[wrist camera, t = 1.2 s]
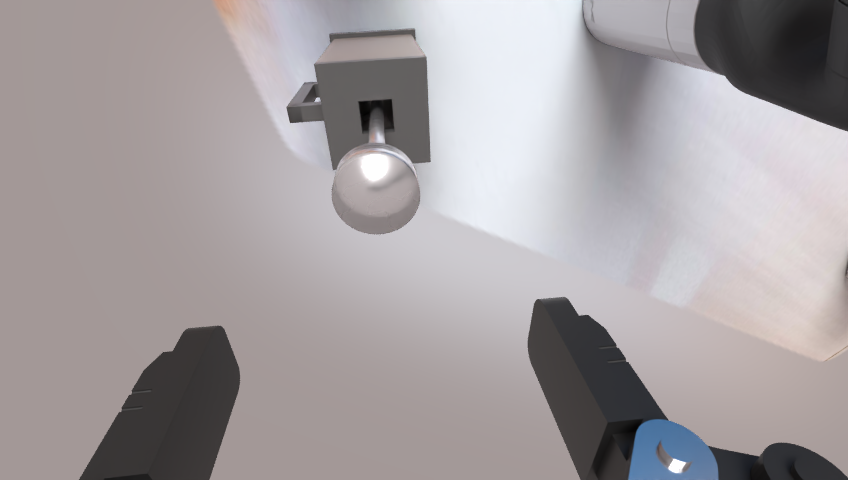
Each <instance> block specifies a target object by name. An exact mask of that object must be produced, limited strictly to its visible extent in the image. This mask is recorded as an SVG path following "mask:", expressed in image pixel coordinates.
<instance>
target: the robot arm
mask: <svg viewBox="0 0 848 480" xmlns="http://www.w3.org/2000/svg"><path fill="white" fill-rule="evenodd" d="M583 12H584V19H585V22H586V25H587V28H588V29H589V31H590V32H591V34H592V35H593V36H594V37H595V38H596V39H597V40H598V41H600V42H602V43H605V44H607V45H611V46H615V47H618V48H622V49H625V50H629V51H633V52H637V53H640V54H644V55H648V56H652V57H655V58H659V59H663V60H667V61H671V62H674V63H678V64H682V65H686V66H689V67H693V68H697V69H702V70H705V71H709V72H713V73H717V74H720V75H724V76H726V78H727V79H728V81H729V82H730V83H731V84H732V85H733V86H734V87H736V88H737V89H738V90H740V91H742V92H744V93H746V94H749V95H751V96H754V97H757V98H759V99H762V100H765V101H767V102H770V103H773V104H775V105H778V106H781V107H783V108H786V109H788V110H791V111H793V112H796V113H798V114H801V115H804V116H806V117H809V118H811V119H814V120H816V121H819V122H822V123H825V124H827V125H830V126H833V127H836V128H839V129H842V130H845V131H848V0H584V1H583ZM528 352H529V358H530V361H531V364H532V367H533V369H534V371H535V374H536V376H537V378H538V381H539V383H540V385H541V388H542V390H543V392H544V395H545V397H546V399H547V402H548V404H549V406H550V409H551V411H552V413H553V416H554V418H555V420H556V423H557V425H558V428H559V430H560V432H561V435H562V437H563V439H564V442H565V444H566V446H567V448H568V451H569V453H570V456H571V458H572V460H573V463H574V465H575V467H576V470H577V472H578V475H579V477H580V479H581V480H848V478H847V476H845V475H844V474H843V473H842V472H841V471H840V470H839V469H838V468H837V467H836V466H834V465H833V464H832V463H831V462H829V461H828V460H826V459H825V458H823V457H822V456H820V455H818V454H817V453H815V452H813V451H811V450H809V449H806V448H804V447H801V446H798V445H795V444H790V443H775V444H772V445H769V446H768V447H767V448H766V449H765V450H764V451H763V453H762V454H761V455H760V457H759V456H754V455H749V454H744V453H738V452H733V451H728V450H723V449H718V448H714V447H710V446H707V445H706V444H705V443H704V442H703V441H702V439H700V438H699V437H698V436H697V435H696V434H694V433H693V432H692V431H690V430H689V429H687V428H685V427H684V426H682V425H679V424H677V423H675V422H672V421H669V420H668V419H667V417H666V416H665V415H664V414H663V412H662V411H661V409H660V408H659V406H658V405H657V403H656V402H655V400H654V399H653V397H652V396H651V394H650V393H649V392H648V390H647V389H646V388H645V386H644V384H643V383H642V381H641V380H640V379H639V377H638V376H637V374H636V373H635V371H634V370H633V368H632V367H631V365H630V364H629V362H626V358H625V357H624V355H623V354H622V352H621V351H620V349H619V348H617V347H616V343H615V342H614V341H613V339H612V338H611V336H610V335H609V334H608V332H607V330H606V329H605V328H604V327H603V326H601V325H600V324H599V323H598V322H596V321H595V320H594V319H592V318H591V317H590V316H589V315H583V316H579V315H578V314H577V312H576V311H575V309H574V307H573V306H572V305H571V303H570V301H569V300H568V299H567V298H565V297H559V298H548V299H537V300H536V301H535V303H534V308H533V313H532V320H531V325H530V331H529V337H528ZM239 385H240V372H239V367H238V364H237V361H236V359H235V356H234V354H233V351H232V348H231V345H230V343H229V340H228V338H227V335H226V332H225V330H224V329H223V327H221V326H210V327H199V328H188V329H186V330H185V331H184V332H183V334H182V335H181V337H180V339H179V341H178V343H177V344H176V346H175V348H174V350H173V351H172V352H163V353H162V354H161V355H160V356H159V357H158V358H157V359H156V360H155V361H153V362H152V363H151V364H150V365H149V366H148V367H147V368H146V369H145V370H144V371H143V373H142V374H141V376H140V378H139V379H138V381H137V383H136V384H135V386H134V388H133V390H132V394H131V395H129V396H128V398H127V400H126V401H125V403H124V405H123V406H122V412H119V413H118V415H117V417H116V418H115V420H114V422H113V423H112V425H111V427H110V428H109V430H108V432H107V434H106V435H105V437H104V439H103V440H102V442H101V443H100V445H99V447H98V449H97V450H96V452H95V454H94V455H93V457H92V459H91V460H90V462H89V464H88V465H87V467H86V469H85V471H84V472H83V474H82V476H81V477H80V479H79V480H209V479H210V476H211V473H212V470H213V467H214V464H215V461H216V458H217V454H218V451H219V448H220V446H221V442H222V439H223V436H224V433H225V430H226V427H227V424H228V421H229V418H230V415H231V412H232V409H233V406H234V403H235V400H236V397H237V394H238V390H239Z"/></svg>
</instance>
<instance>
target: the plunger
mask: <svg viewBox="0 0 848 480" xmlns="http://www.w3.org/2000/svg"><path fill="white" fill-rule="evenodd" d="M359 106H360V113H361V121H362V129H363V131H369V142H368V143H367V144H363V145H360V146H357V147H355V148H354V149H352V150H350V151H349V152H348V153H347V154H346V155H345V156H344V157H343V158H342V159H341V161H340V162H339V164H338V167H337V169H336V173H335V178H334V182H333V187H332V201H333V205H334V208H335V210H336V212H337V213H338V215H339V217H340V218H341V219H342V220H343V221H344V222H345V223H346V224H347V225H349V226H350V227H352V228H354V229H356V230H358V231H361V232H364V233H368V234H385V233H390V232H392V231H395V230H398V229H399V228H401V227H403V226H404V225H405V224H407V223H408V222H409V221H410V220H411V219H412V217H413V216H414V214H415V213H416V210H417V209H418V206H419V202H420V189H419V184H418V179H417V174H416V170H415V168H414V165H413V164H412V162H411V160H410V159H409V158H408V157H407V156H406V155H405V154H404V153H403V152H402V151H400V150H399V149H397V148H395V147H393V146H391V145H388V144H385V133H384V129H394V119H393V108H392V99H383V100H369V101H359Z"/></svg>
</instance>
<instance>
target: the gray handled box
mask: <svg viewBox="0 0 848 480" xmlns="http://www.w3.org/2000/svg"><path fill="white" fill-rule="evenodd" d="M329 36H330V42H331V44H330V45H329V46H328V47H327V49H326V50H325V51H324V53H323V54H322V55H321V56H320V58H319V59H318V60H317V61H316V63H315V64H314V66H315V72H316V77H317V82H308V83H304V84H303V85H302V87H301V88H300V90H299V91H298V92H297V94H296V95H295V96H294V98H293V99H292V100H291V102H290V103H289V104H288V106H287V112H288V116H289V121H290V123H296V122H310V121H324V122H325V127H326V133H327V138H328V144H329V149H330V155H331V161H332V166H333V170H336V169H337V167H338V164H339V162H340V161H341V159H342V158H343V157H344V156H345V155H346V154H347V153H348V152H349V151H350V150H352V149H354V148H355V147H357V146H360V145H363V144H367V143H368V142H369V131H363V129H362V121H361V113H360V106H359V101H369V100H383V99H392V108H393V119H394V129H384V133H385V144H388V145H391V146H393V147H395V148H397V149H399V150H400V151H402V152H403V153H404V154H405V155H406V156H407V157H408V158H409V159H410V160H411V162H412V163H425V162H431V161H430V136H429V111H428V85H427V60H426V56H425V54H424V53H423V51H422V50H421V48H420V47H419V45H418V44H417V42H416V40H415V29H397V30H381V31H365V32H348V33H332V34H329ZM317 97H320V99H321V102H314V101H315V99H316V98H317Z"/></svg>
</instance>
